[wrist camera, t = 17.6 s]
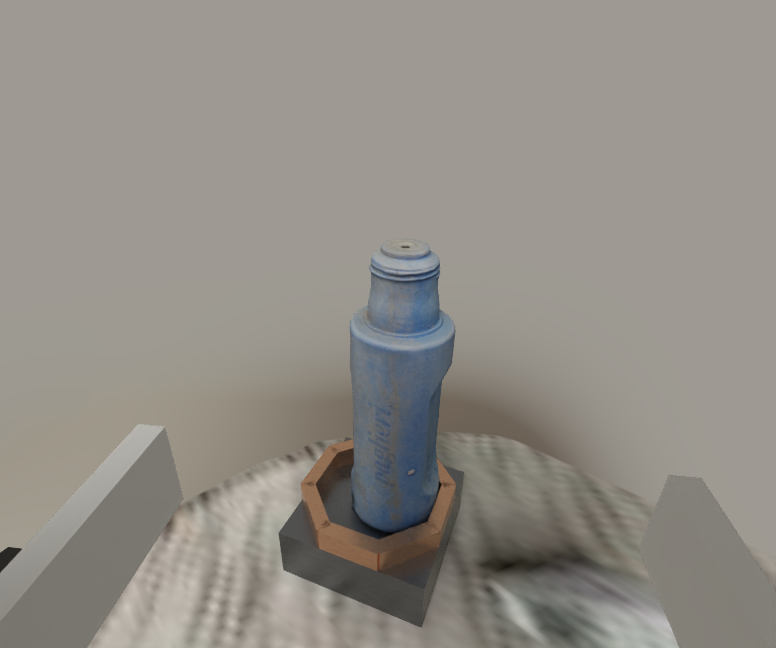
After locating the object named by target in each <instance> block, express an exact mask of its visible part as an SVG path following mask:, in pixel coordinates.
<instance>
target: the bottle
mask: <svg viewBox="0 0 776 648" xmlns="http://www.w3.org/2000/svg"><path fill="white" fill-rule="evenodd" d="M369 269H370V271H371V290H370V295H369V301H368V306H365V307H363V308H362V309H360V310H358V311H357V312H356V313H355V314H354V315H353V317H352V319H351V321H350V338H351V345H350V346H351V347H350V370H351V378H352V389H353V444H354V466H353V468H352V471H351V495H352V504H353V506H354V509H355V511H356V512H357V514H358V516H359V517H360V519H361V520H362V521H363V522H365V523H366V524H368V525H369V526H371V527H373V528H375V529H377V530H380V531H383V532H390V533H398V532H401V531H404V530H406V529H409V528H412V527H415V526H417V525H420V524H423V523H426V522H427V521H428V519H429V517H430V514H431V512H432V509H433V506H434V504H435V501H436V499H437V495H438V487H439V472H438V462H437V456H436V436H437V425H438V417H439V405H440V394H441V385H442V379H443V378H444V376H445V375H446V373H447V371H448V369H449V367H450V366H451V363H452V356H453V348H454V338H455V325H454V322H453V320H452V319H451V318H450V317H449V316H448V315H447V314H446V313H444V312H443V311H441V310H440V309H439V295H438V278H439V275H440V270H439V269H440V263H439V258H438V256H437V255H436V254H435V253H433V252H431V251H430V247H429V245H428V244H427V243H424V242H421V241H417V240H412V239H393V240H389V241H386V242H385V243H383V244H382V245H381V249H379V250H377V251H375V252H374V253H373V255H372V258H371V265H370V267H369Z"/></svg>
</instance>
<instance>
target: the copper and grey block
mask: <svg viewBox="0 0 776 648" xmlns="http://www.w3.org/2000/svg"><path fill="white" fill-rule="evenodd" d="M437 462H438V472H439V487H438V495H437V499H436V501H435V504H434V506H433V509H432V512H431V514H430V517H429V519H428V521H427V522H426V523H423V524H420V525H417V526H415V527H412V528H409V529H406V530H404V531H401V532H398V533H390V532H383V531H380V530H377V529H375V528H373V527H371V526H369V525H368V524H366V523H365V522H363V521H362V520H361V519H360V517H359V516H358V514H357V512H356V511H355V509H354V506H353V504H352V495H351V471H352V468H353V466H354V444H353V439H349V438H346V439H345V441H344V442H341V443H337V444H334V445H330V447H328V448H327V449H326V451H325V452H324V453H323V455H322V456H321V457H320V459H319V460H318V461H317V463H316V464H315V465H314V467H313V468H312V469H311V471H310V472H309V473H308V475H307V476H306V477H305V479H304V480H303V481H302V483H301V491H302V501H301V502H300V504H299V505H298V507H297V508H296V509H295V511H294V512H293V514H292V515H291V516H290V518H289V519H288V521H287V522H286V523H285V525H284V526H283V528H282V529H281V530H280V532H279V539H280V547H281V554H282V562H283V569H284V570H285V571H287V572H290V573H292V574H295V575H297V576H299V577H302V578H304V579H307V580H309V581H311V582H314V583H316V584H319V585H321V586H323V587H326V588H328V589H331V590H333V591H335V592H338V593H340V594H343V595H345V596H347V597H350V598H352V599H355V600H357V601H359V602H362V603H364V604H367V605H369V606H371V607H374V608H376V609H379V610H381V611H383V612H386V613H388V614H391V615H393V616H395V617H398V618H400V619H403V620H405V621H407V622H410V623H412V624H415V625H417V626H419V627H421V626H422V623H423V620H424V617H425V614H426V611H427V607H428V604H429V601H430V598H431V595H432V592H433V589H434V585H435V582H436V579H437V576H438V573H439V570H440V567H441V563H442V560H443V557H444V554H445V551H446V548H447V545H448V542H449V538H450V535H451V532H452V529H453V526H454V523H455V520H456V516H457V513H458V510H459V507H460V500H461V492H462V484H463V476H464V472H462V471H459V470H455V469H452V468H448V467H445V466H443V465H442V464H441V462H440V461H439V460H438V458H437Z"/></svg>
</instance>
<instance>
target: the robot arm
mask: <svg viewBox="0 0 776 648" xmlns="http://www.w3.org/2000/svg"><path fill="white" fill-rule="evenodd" d="M182 500H183V495H182V491H181V487H180V483H179V479H178V475H177V471H176V468H175V464H174V460H173V456H172V452H171V448H170V444H169V441H168V437H167V433H166V429H165V427H164V426H153V425H143V424H138V425H137V426H136V428H134V430H133V431H132V432H131V433H130V434H129V435H128V436H127V437H126V438H125V439H124V440H123V441H122V443H121V444H120V445H119V446H118V447H117V448H116V449H115V450H114V451H113V452H112V453H111V454H110V455H109V457H108V458H107V459H106V460H105V461H104V462H103V463H102V464H101V465H100V466H99V467H98V468H97V469H96V470H95V472H94V473H93V474H92V475H91V476H90V477H89V478H88V479H87V480H86V481H85V482H84V484H82V485H81V487H80V488H79V489H78V490H77V491H76V492H75V493H74V494H73V495H72V497H70V498H69V499H68V501H67V502H66V503H65V504H64V505H63V506H62V507H61V508H60V509H59V510H58V511H57V512H56V513H55V515H54V516H53V517H52V518H51V519H50V520H49V521H48V522H47V523H46V524H45V525H44V526H43V527H42V529H41V530H40V531H39V532H38V533H37V534H36V535H35V536H34V537H33V538H32V539H31V540H30V541H29V542H28V544H27V545H26V546H25V547H24V548H23V549H20V548H12V547H8V548H6V549H5V550H4V551H2V552H1V553H0V648H87V647H88V645H89V644H90V642H91V640H92V639H93V637H94V636H95V634H96V633H97V631H98V630H99V628H100V627H101V625H102V624H103V622H104V620H105V619H106V617H107V616H108V614H109V613H110V611H111V610H112V608H113V607H114V605H115V603H116V602H117V600H118V599H119V597H120V596H121V594H122V593H123V591H124V590H125V588H126V587H127V585H128V583H129V582H130V580H131V579H132V577H133V576H134V574H135V573H136V571H137V570H138V568H139V567H140V565H141V563H142V562H143V560H144V559H145V557H146V556H147V554H148V553H149V551H150V550H151V548H152V546H153V545H154V543H155V542H156V540H157V539H158V537H159V536H160V534H161V533H162V531H163V530H164V528H165V526H166V525H167V523H168V522H169V520H170V519H171V517H172V516H173V514H174V513H175V511H176V510H177V508H178V506H179V505H180V503H181V502H182ZM639 551H640V554H641V556H642V559H643V561H644V563H645V566H646V568H647V571H648V573H649V575H650V578H651V580H652V583H653V585H654V587H655V590H656V592H657V595H658V597H659V599H660V602H661V604H662V607H663V609H664V611H665V614H666V616H667V619H668V621H669V623H670V626H671V628H672V631H673V633H674V635H675V638H676V640H677V643H678V645H679V647H680V648H776V591H775V589H774V588H773V586H772V585H771V583H770V582H769V580H768V579H767V577H766V575H765V574H764V572H763V571H762V569H761V568H760V566H759V565H758V563H757V562H756V560H755V559H754V557H753V556H752V554H751V553H750V551H749V550H748V548H747V547H746V545H745V543H744V542H743V541H742V539H741V537H740V536H739V535H738V533H737V531H736V530H735V528H734V527H733V525H732V524H731V522H730V521H729V519H728V518H727V516H726V515H725V513H724V512H723V510H722V509H721V507H720V506H719V504H718V502H717V501H716V499H715V498H714V496H713V495H712V493H711V492H710V490H709V489H708V487H707V486H706V484H705V483H704V481H703V480H702V478H694V477H684V476H673V475H669V476H668V478H667V481H666V483H665V486H664V488H663V491H662V493H661V496H660V498H659V500H658V503H657V505H656V508H655V510H654V513H653V515H652V518H651V520H650V523H649V525H648V528H647V530H646V533H645V535H644V537H643V540H642V542H641V545H640V547H639Z"/></svg>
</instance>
